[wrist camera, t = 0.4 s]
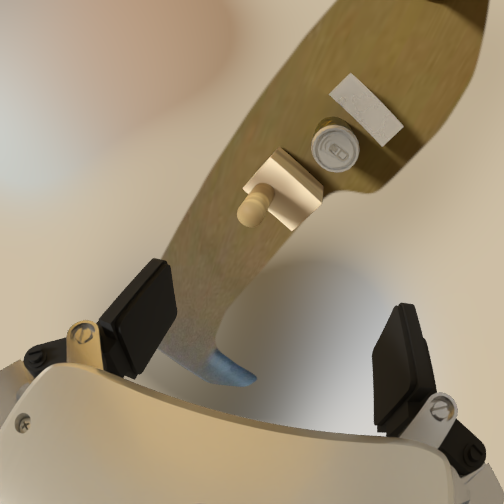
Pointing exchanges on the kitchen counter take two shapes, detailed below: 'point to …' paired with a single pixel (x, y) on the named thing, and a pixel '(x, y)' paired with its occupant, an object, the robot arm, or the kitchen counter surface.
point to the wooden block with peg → (280, 192)
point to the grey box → (366, 109)
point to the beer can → (335, 145)
